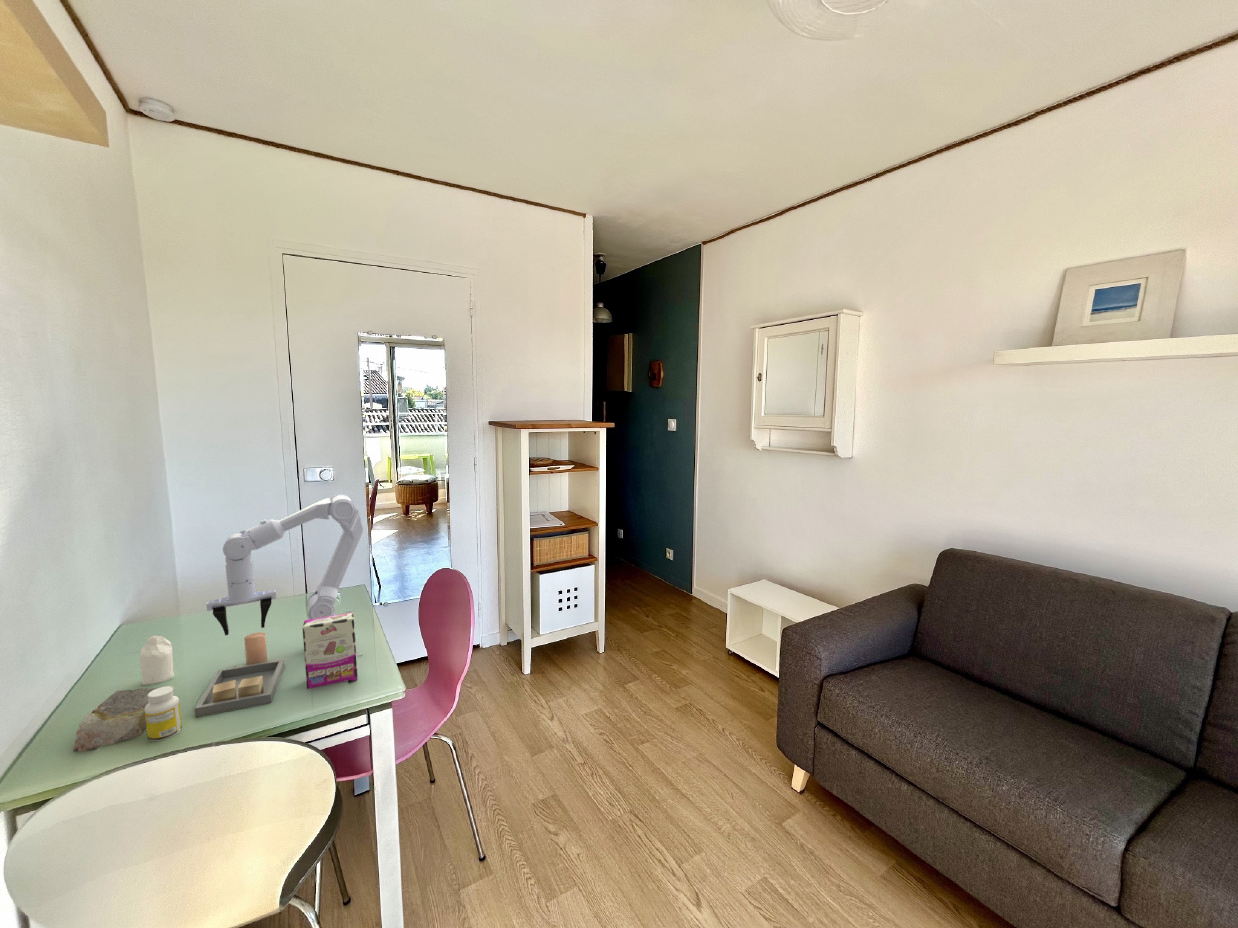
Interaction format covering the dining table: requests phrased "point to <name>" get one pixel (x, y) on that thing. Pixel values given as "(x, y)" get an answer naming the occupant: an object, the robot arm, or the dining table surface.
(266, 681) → the tray
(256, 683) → the beech block
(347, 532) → the robot arm
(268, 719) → the dining table surface
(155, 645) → the white sack
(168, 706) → the supplement bottle
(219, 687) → the beech block
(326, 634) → the candy bar box
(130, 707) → the geological specimen
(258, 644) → the flesh-toned capsule
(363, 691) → the dining table surface
